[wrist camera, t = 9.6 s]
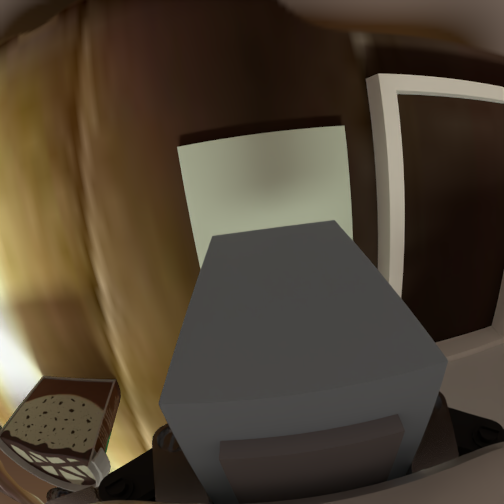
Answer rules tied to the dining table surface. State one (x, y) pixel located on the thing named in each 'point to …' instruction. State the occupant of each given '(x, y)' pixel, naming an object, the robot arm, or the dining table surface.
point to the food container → (64, 431)
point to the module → (297, 369)
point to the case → (392, 242)
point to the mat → (266, 182)
